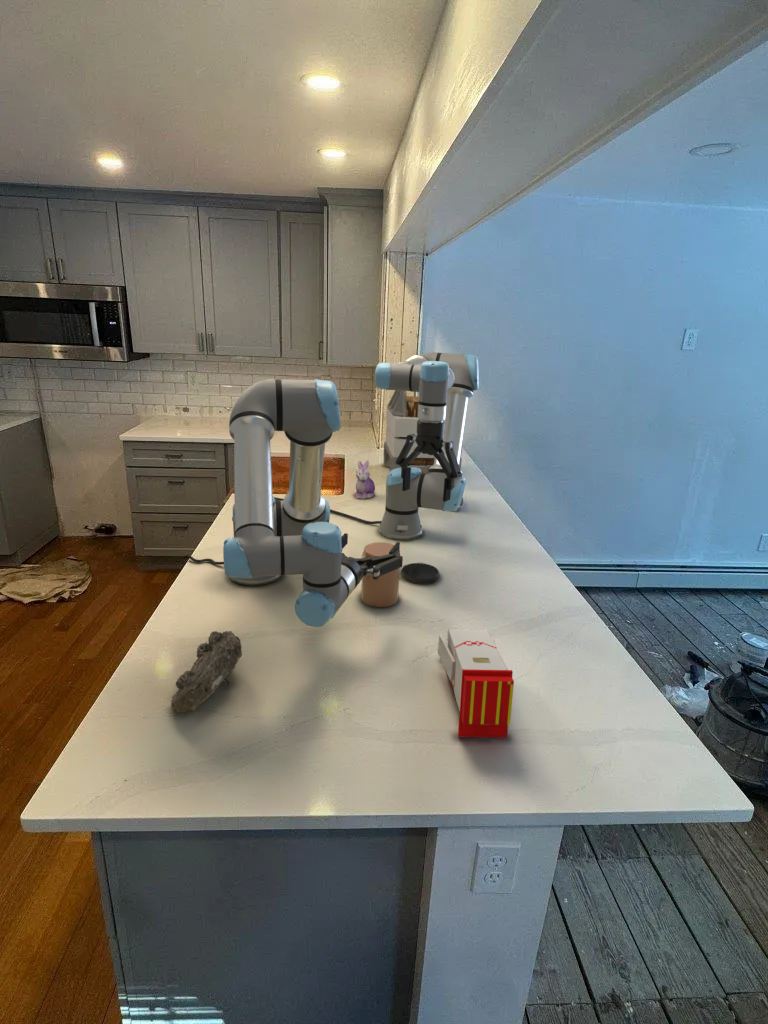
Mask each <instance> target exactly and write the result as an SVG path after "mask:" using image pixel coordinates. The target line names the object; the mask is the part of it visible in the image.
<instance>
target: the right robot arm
mask: <svg viewBox="0 0 768 1024" xmlns="http://www.w3.org/2000/svg"><path fill="white" fill-rule="evenodd" d="M479 376H480V374H479V359H478V356H476V355H474V354H467V353H451V352H436V351H433V352H425V353H419V354H416V355H412V356H410V357H409V358H408V359H407V360H404V361H401V362H400V361H399V362H379V363H377V365H376V367H375V370H374V383H375V387H376V388H377V389H378V390H379V389H380V390H385V391H395V390H399V391H406V392H412V393H413V392H414V393H418V397H419V402H418V419H420V420H418V421H417V436H415V434H410V435H407V438H406V443H405V445H404V447H403V449H402V451H401V452H400V454H399V456H398V458H397V460H396V464H397V465H400V466H401V468H396V469H393V470H391V471H390V470H389V472H388V473H387V475H386V482H385V504H384V505H385V507H384V508H385V509H384V513H383V515H382V519H381V520H373V521H372V520H365V519H362V518H359V517H357V516H353V515H349V514H347V513H344V512H341V511H338V510H334V509H331V508H330V513H333V514H336V515H339V516H342V517H346V518H348V519H352V520H355V521H358V522H361V523H363V524H368V525H378V524H379V526H378V533H379V534H380V535H381V536H382V537H385V538H387V539H389V540H395V541H410V540H415V539H418V538H420V537H421V536H422V535H423V525H422V524H421V518H420V515H419V508H422V509H428V510H429V509H430V510H437V511H443V512H445V511H446V512H456V511H458V510H457V509H458V508H459V509H460V507H461V506H460V503H461V500H462V498H463V497H464V493H465V489H466V483H467V480H466V478H465V477H463V472H462V469H461V470H460V467H459V461H460V454H461V455H462V453H461V446H462V447H463V443H462V441H463V439H464V431H465V423H466V417H467V416H466V415H467V408H468V402H469V401H468V400H469V399H471V398H472V397H473V395H474V392H475V391H478V390H479V385H480V378H479ZM415 441H416V443H417V445H418V446H417V447H416V448H415V449H414V450H413V452H412V453H411V454H410V455H409V456H408V458H407V459H406V457H407V455H408V453H409V451H410V449H411V447H412V446H413V444H414V442H415ZM421 452H422V454H428V455H434V457H435V459H434V464H433V466H432V465H430V466H429V468H428V469H427V470H428V471H427V473H422V469H421V468H420V467H417V466H410V464H411V463H412V462H413V461H414V460H415V458H416V457H417V456H418V455H419V454H420V453H421ZM405 459H406V460H405ZM273 497H274V499H275V501H282V500H284V498H282V497H281V498H280V497H277V496H276V497H275V496H273Z"/></svg>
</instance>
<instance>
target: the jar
mask: <svg viewBox="0 0 768 1024" xmlns="http://www.w3.org/2000/svg"><path fill="white" fill-rule="evenodd" d="M394 545H395V544H393V543H390V542H382V541H381V542H380V541H378V542H377V541H375V542H371V543H369V544H368V543H367V544H365V546H364V547H363V551H362V554H361V555H362V558H366V557H369V558H375V557H379V556H384V555H388V554H389V552H390V550H391V549H392V548H393V546H394ZM399 551H400V552H401V550H399ZM400 556H402V554H401V553H400ZM365 564H366V562H365ZM400 576H401V568H398V569H396V570H394V571H391V572H389V573H387V574H384V575H382V576H380V577H379V578H378V579H376V580H375V579H373V576H372V575H368V574H367V575H366V576H363V577H362V579H361V587H360V588H361V590H360V600H361V601H362V602H363V603H364V604H366V605H368V606H370V607H375V608H385V607H386V608H387V607H390V606H393V605H395V604H396V603H397V602H398V600H399V593H400V592H399V590H400Z"/></svg>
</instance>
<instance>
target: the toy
mask: <svg viewBox="0 0 768 1024" xmlns="http://www.w3.org/2000/svg"><path fill="white" fill-rule="evenodd" d="M446 640H447V643H446V641H445V639H444V636H443V635H442V634H439V637H438V646H437V656H438V657H439V659H440V661H441V663H442V666H443V668H444V670H445V672H446V674H447V677H448V679H449V681H450V684H451V687H452V690H453V693H454V697H455V701H456V705H457V708H458V711H459V714H458V715H459V716H458V730H457V731H458V732H457V737H458V738H508V731H509V726H510V725H511V717H512V707H513V697H514V696H513V695H514V684H515V680H514V679H513V673H514V671H513V670H512V669H508V667H507V665H506V662H505V661H504V659H503V658H502V655H501V653H500V651H499V649H498V647H497V643H496V639H495V637H494V635H493V634H491V632H490V631H489V629H467V628H466V629H465V628H463V629H461V628H460V629H459V628H448V630H447V639H446Z"/></svg>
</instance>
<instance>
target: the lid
mask: <svg viewBox="0 0 768 1024" xmlns="http://www.w3.org/2000/svg"><path fill="white" fill-rule="evenodd" d="M400 576H401V578H402V579H403V580H405V581H406V582H408V583H411V584H414V585H430V584H433V583H435V582H437V581H438V580H439V578H440V571H439V569H438V568H437V567H435V566H434V565H431V564H428V563H422V562H413V563H408V564H405V565H404V566H402V567H401V570H400Z"/></svg>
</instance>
